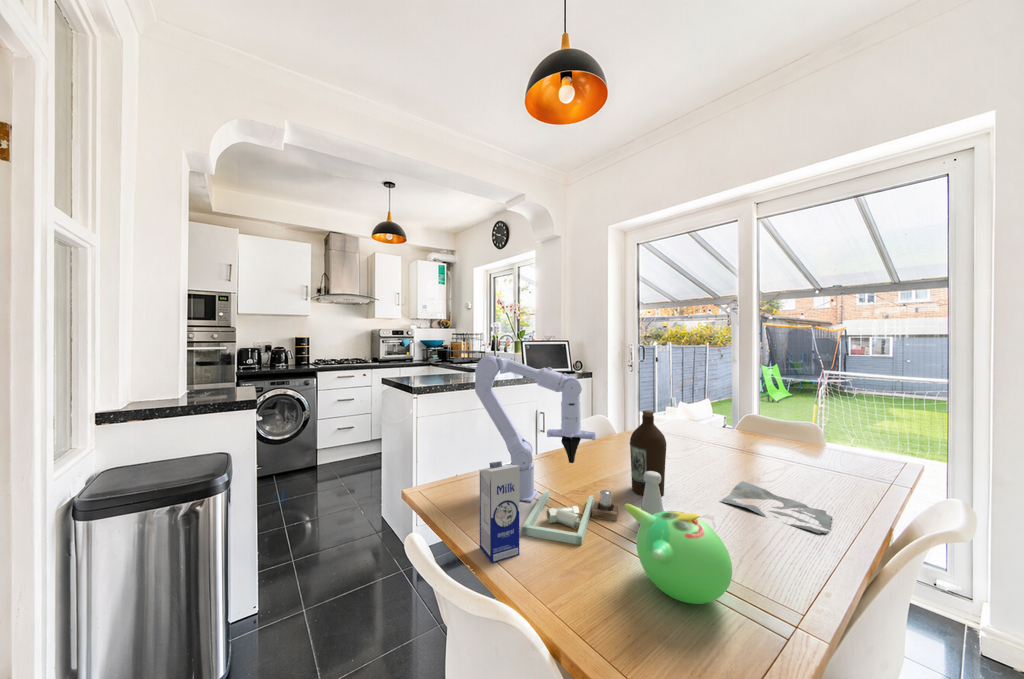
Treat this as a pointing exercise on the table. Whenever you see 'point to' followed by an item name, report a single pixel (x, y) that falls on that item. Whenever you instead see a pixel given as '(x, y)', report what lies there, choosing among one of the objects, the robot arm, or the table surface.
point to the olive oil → (647, 453)
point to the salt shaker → (652, 493)
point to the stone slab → (754, 492)
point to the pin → (605, 500)
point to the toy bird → (682, 555)
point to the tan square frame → (605, 512)
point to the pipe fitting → (564, 516)
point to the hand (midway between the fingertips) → (571, 461)
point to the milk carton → (499, 511)
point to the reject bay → (552, 533)
